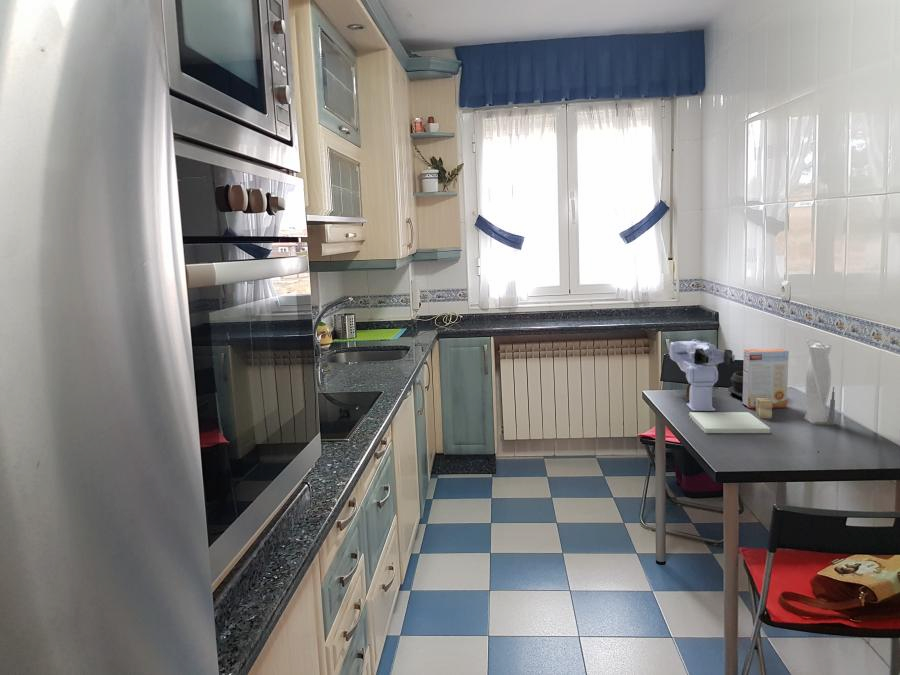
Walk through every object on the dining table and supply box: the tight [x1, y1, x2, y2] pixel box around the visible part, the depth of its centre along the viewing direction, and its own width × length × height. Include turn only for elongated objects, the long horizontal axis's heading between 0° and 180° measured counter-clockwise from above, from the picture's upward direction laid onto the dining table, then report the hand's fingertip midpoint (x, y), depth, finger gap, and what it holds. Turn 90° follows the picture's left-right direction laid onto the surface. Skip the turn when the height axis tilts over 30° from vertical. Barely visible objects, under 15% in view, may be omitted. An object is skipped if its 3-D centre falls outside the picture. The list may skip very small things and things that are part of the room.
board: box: [688, 411, 771, 434], centre depth 230 cm, size 20×20×2 cm
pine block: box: [755, 398, 773, 419], centre depth 238 cm, size 4×4×6 cm
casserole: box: [727, 370, 743, 398], centre depth 268 cm, size 25×19×8 cm
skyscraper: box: [803, 339, 836, 426], centre depth 230 cm, size 8×8×28 cm
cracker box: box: [742, 348, 790, 409], centre depth 251 cm, size 14×6×21 cm, turn 89°
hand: (719, 360), depth 229 cm, fingers open, 7 cm apart
